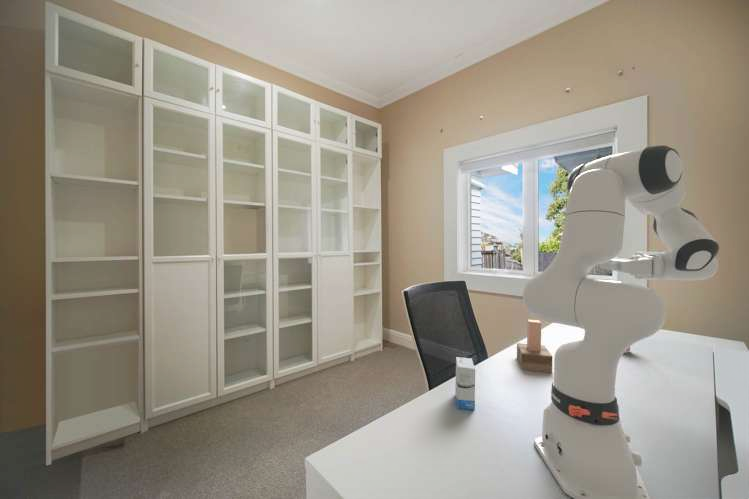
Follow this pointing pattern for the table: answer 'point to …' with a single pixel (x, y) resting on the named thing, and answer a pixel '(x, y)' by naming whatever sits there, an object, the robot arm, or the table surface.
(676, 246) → the robot arm
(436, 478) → the table surface
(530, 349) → the terracotta block
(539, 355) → the block
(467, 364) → the ink box
